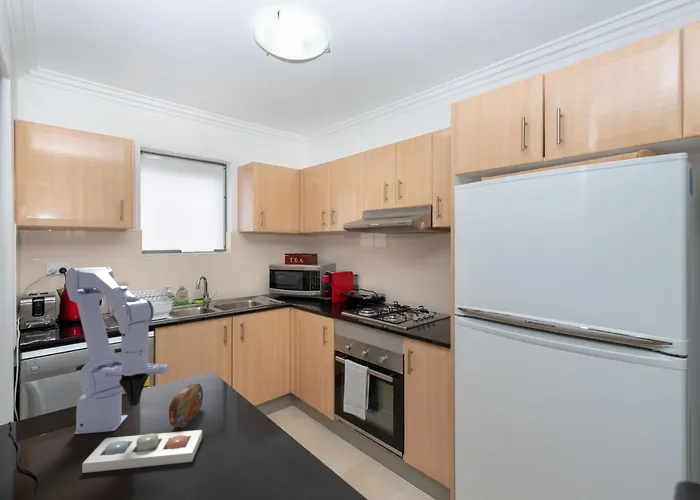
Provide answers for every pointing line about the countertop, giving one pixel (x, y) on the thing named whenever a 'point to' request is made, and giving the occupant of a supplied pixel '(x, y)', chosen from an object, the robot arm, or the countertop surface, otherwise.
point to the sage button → (147, 442)
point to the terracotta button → (177, 442)
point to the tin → (185, 405)
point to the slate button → (116, 448)
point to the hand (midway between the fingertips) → (134, 404)
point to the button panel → (142, 453)
